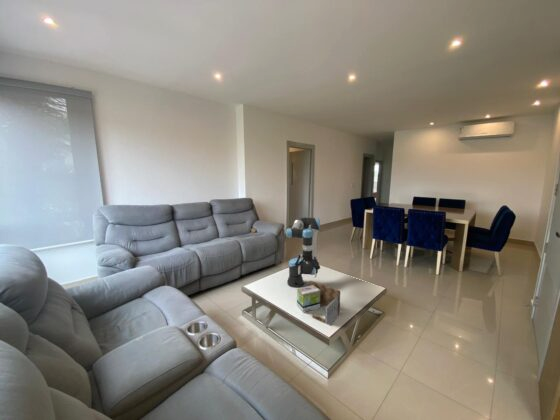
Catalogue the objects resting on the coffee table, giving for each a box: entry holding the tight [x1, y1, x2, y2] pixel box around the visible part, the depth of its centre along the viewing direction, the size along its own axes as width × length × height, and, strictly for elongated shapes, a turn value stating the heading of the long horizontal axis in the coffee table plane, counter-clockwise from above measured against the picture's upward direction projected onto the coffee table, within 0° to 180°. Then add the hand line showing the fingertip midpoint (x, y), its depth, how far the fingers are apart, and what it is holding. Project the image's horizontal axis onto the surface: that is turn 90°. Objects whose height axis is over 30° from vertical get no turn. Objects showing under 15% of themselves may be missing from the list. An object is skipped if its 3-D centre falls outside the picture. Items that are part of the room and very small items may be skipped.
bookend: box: [324, 296, 342, 326], centre depth 162 cm, size 4×18×12 cm, turn 141°
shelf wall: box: [308, 280, 341, 324], centre depth 170 cm, size 26×19×16 cm
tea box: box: [296, 285, 321, 313], centre depth 175 cm, size 15×10×15 cm, turn 114°
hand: (307, 275), depth 181 cm, fingers open, 13 cm apart
